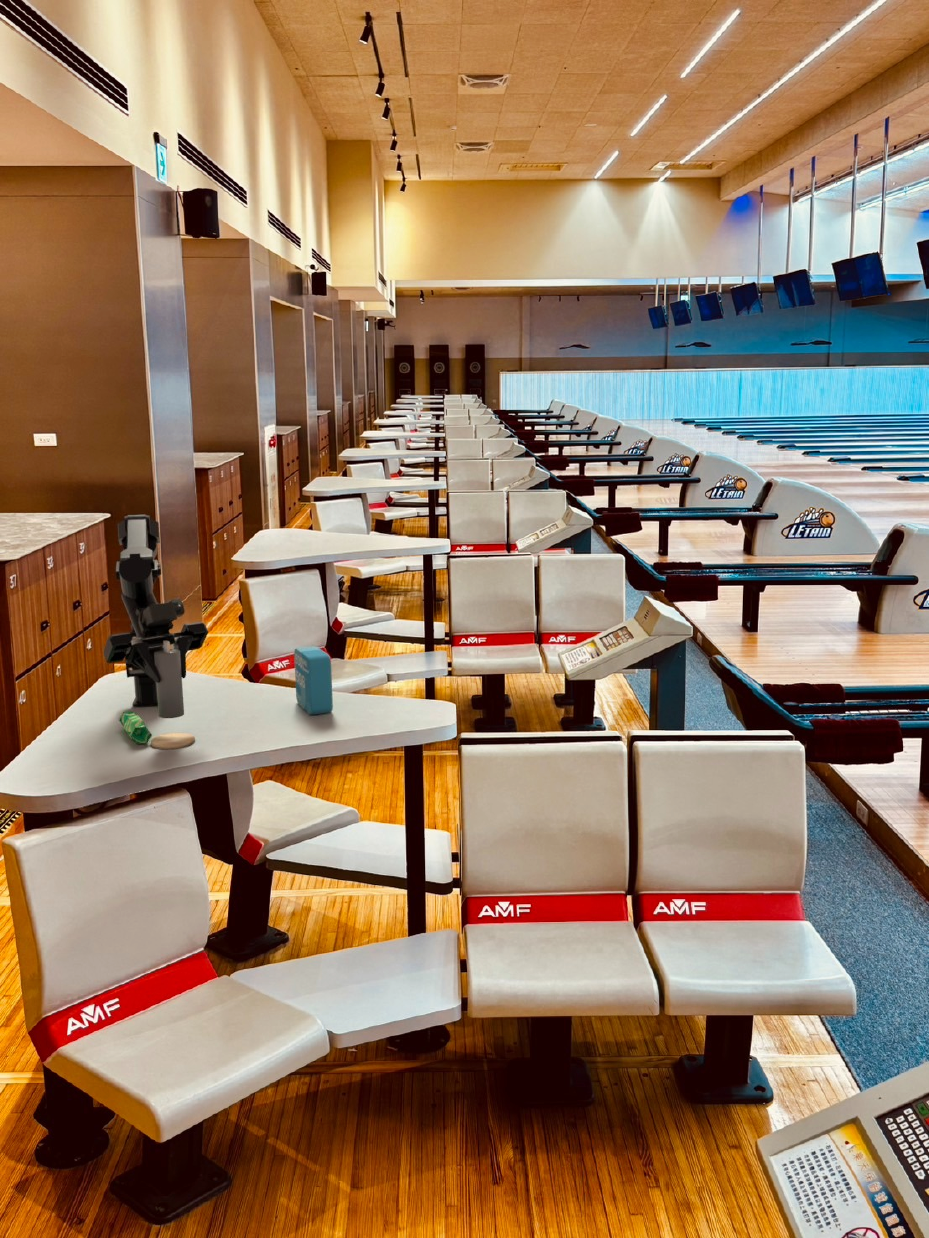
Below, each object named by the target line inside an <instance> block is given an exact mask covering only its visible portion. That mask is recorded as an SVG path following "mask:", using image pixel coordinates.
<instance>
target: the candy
mask: <svg viewBox="0 0 929 1238" xmlns="http://www.w3.org/2000/svg"><path fill="white" fill-rule="evenodd" d="M118 721H119V722H120V723H121V725H122V726H123V729H124V730H125V732H126V733H127V735H128V736H129V738H130V739H131V740H133V742H134V743H135V744H136V745H143V744H148V743H149V741H150V739H151V737H152V736H153V734H152V732H151V731H150V730H149V729H148V727H147V726H146V724H145V723H144V721H143V719H142V718H141V717H140V716H139V715H138V714H136V713H135V711H123V712H122V714H121V716H120V718H119V720H118Z"/></svg>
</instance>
